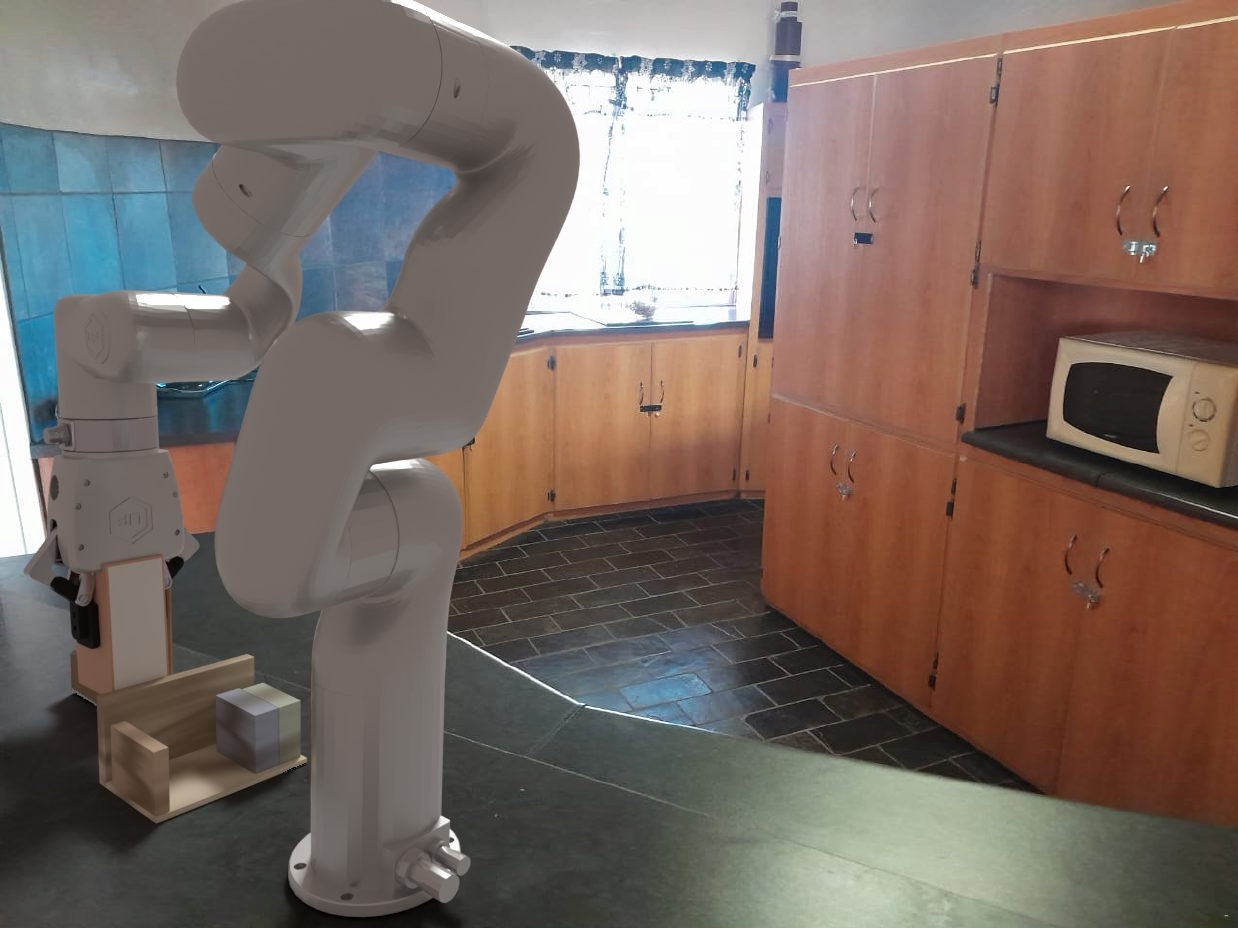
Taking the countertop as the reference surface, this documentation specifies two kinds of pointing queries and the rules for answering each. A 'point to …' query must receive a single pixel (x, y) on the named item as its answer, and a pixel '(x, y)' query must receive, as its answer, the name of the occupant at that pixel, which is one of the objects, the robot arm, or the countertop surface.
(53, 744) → the countertop surface
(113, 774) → the shelf
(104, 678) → the tall pink rectangular prism
